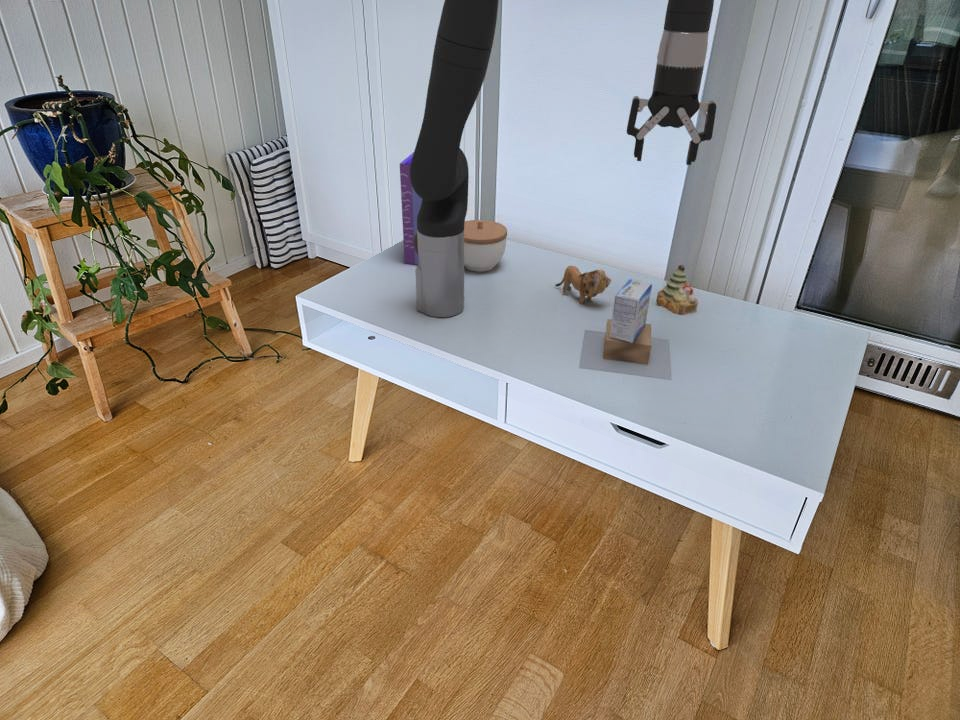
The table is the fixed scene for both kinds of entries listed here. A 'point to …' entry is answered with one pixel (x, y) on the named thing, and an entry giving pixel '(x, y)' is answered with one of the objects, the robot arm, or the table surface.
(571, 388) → the table surface
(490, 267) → the lidded bowl
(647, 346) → the base brick
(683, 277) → the ornament
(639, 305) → the medicine box
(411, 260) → the cereal box
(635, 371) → the plate
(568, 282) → the lion figurine
